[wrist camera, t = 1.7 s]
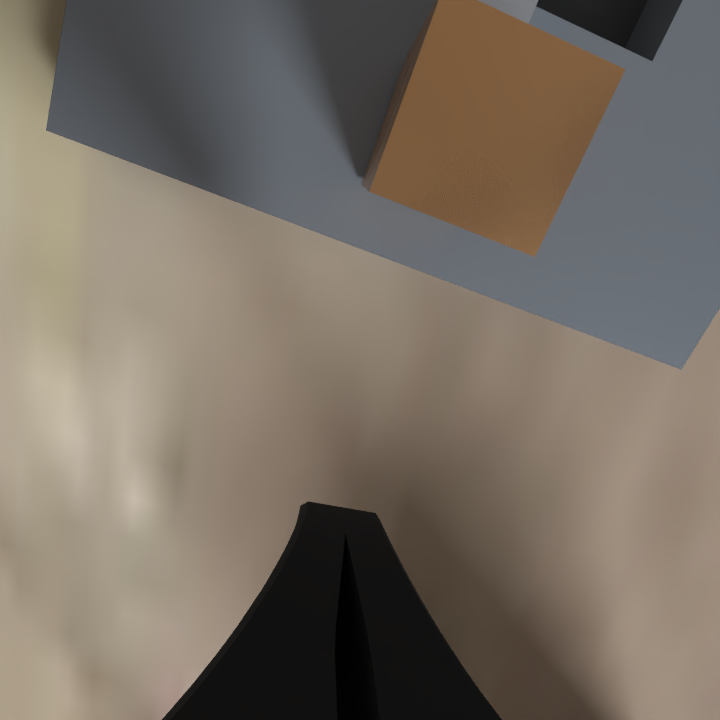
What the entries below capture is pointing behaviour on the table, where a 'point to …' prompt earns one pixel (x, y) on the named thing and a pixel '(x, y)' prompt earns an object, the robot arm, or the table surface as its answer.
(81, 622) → the table surface
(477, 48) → the slider
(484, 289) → the grey slotted board
